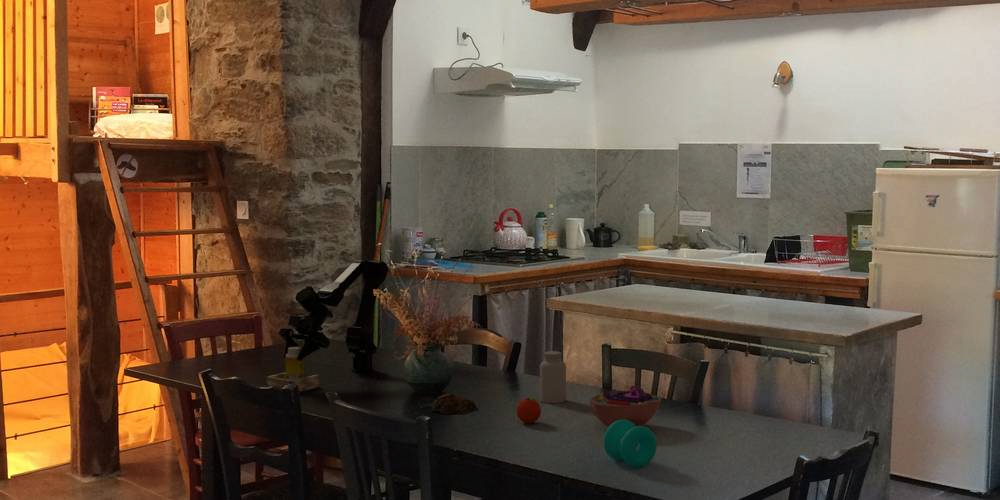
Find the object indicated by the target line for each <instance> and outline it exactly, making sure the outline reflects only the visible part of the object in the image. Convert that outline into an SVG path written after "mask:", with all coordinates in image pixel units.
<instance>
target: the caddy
mask: <svg viewBox="0 0 1000 500" xmlns="http://www.w3.org/2000/svg"><path fill="white" fill-rule="evenodd" d="M288 384H294V385H298V387H299V391H300V392H299V393H301V392H305V391H309V390H312V389H315V388H316V387H317V388H320V374H318V373H317V374H313V375H309V376H303V378H300V379H296V380H288V379H286V371H285V372H281V373H276V374H273V375H268V376H265V387H266V386H280V387H282V386H285V385H288ZM317 388H316V389H317Z"/></svg>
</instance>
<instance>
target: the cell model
mask: <svg viewBox="0 0 1000 500" xmlns="http://www.w3.org/2000/svg"><path fill="white" fill-rule="evenodd" d="M589 400H590V401H589V403H590V404H589V405H590V410H591V412H592V414H593V415H594V416H595V418H596V419H597V420H599V422H600V423H601V424H603V425H605V426H606V427H609V426H610V425H611V424H612V423H614V422H615V421H618V420H628V421H630V422H632V423H633V424H634V425H635V426H644V425H646V424H647V423H649V422H650V420H652V419H653V417H654V416H655V415H656V413H657V411H658V409H659V407H660V404H661V401H662V397H660V396H658V395H654V394H651V393H649V392H645V391H644V389H643V388H641V387H640V386H638V385H631V386H630V388H629V390H613V391H612V390H611V391H609V390H607V391H606V390H603V392H601V393H599V394H596V395H595V396H592V397H590V398H589Z"/></svg>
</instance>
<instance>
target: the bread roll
mask: <svg viewBox="0 0 1000 500" xmlns="http://www.w3.org/2000/svg"><path fill="white" fill-rule="evenodd" d="M476 408H477V405H476V403H475V402H474V400H473V399H471V398H468V397H466V396H463V395H460V394H458V393H453V392H452V393H444V394H442V395H440V396H438V397H437V398H436V399H434V401H433V402H432V404H431V406H430V410H431V411H432V412H439V413H440V414H441V415H454V413H455V414H457V413H459V414H464V413H468V412H470V411H474V410H476Z"/></svg>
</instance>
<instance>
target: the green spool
mask: <svg viewBox="0 0 1000 500" xmlns="http://www.w3.org/2000/svg"><path fill="white" fill-rule="evenodd" d="M657 443H658V442H657V438H656V435H655V434H654V433H653V431H652V430H651V429H650V428H648V427H646V426H644V425H643V426H635V425H634V424H633V423H632V422H630V421H628V420H618V421H615V422H614V423H612V424H611V425H610V426H607V429H606V430H605V432H604V436H603V447H604V451H605V453H606V454H607V455H608V456H609V457H610V458H611V459H613V460H615V461H623V462H624V463H625V464H626V465H628V466H629V467H631V468H634V469H635V468H636V469H638V468H639V467H640V468H643V467H645V466H647V465H648V464H649V463H651V461H652V460H653V458H654V457H655V455H656V452H657V448H658V447H657V446H658V444H657Z"/></svg>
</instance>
